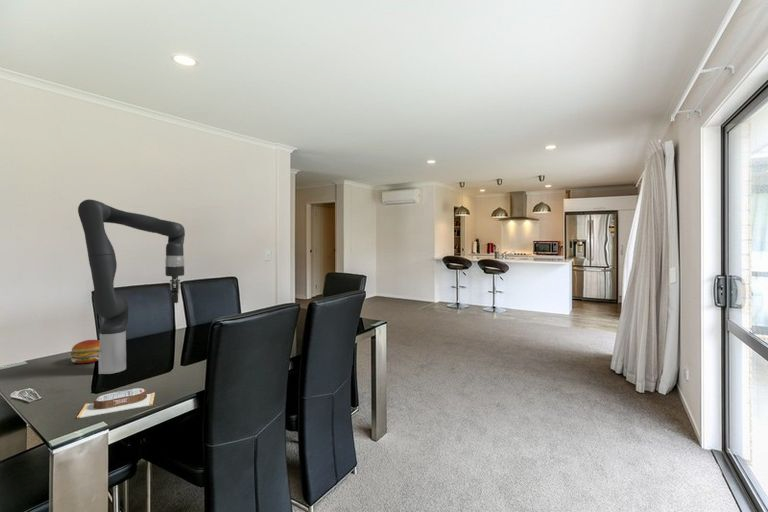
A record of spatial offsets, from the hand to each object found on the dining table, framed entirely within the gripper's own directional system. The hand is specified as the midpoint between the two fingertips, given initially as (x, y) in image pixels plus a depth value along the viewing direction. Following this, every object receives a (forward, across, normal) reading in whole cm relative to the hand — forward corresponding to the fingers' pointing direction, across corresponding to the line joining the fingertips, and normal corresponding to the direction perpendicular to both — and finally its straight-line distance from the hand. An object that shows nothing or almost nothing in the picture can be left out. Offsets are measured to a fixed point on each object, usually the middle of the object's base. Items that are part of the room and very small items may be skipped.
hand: (175, 302), depth 163 cm
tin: (+27, +33, -16) cm, 46 cm away
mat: (+29, +40, -16) cm, 52 cm away
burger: (+29, -27, -37) cm, 55 cm away
